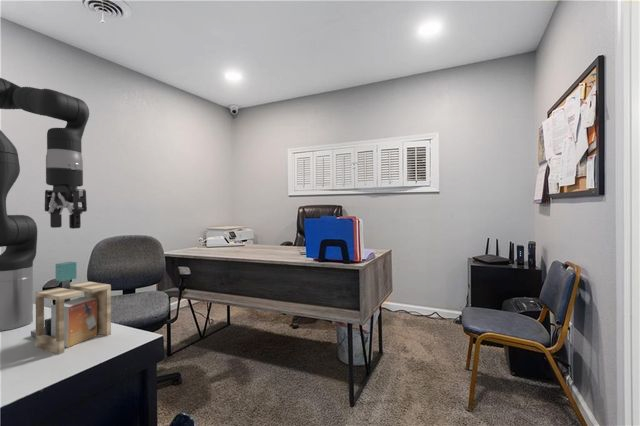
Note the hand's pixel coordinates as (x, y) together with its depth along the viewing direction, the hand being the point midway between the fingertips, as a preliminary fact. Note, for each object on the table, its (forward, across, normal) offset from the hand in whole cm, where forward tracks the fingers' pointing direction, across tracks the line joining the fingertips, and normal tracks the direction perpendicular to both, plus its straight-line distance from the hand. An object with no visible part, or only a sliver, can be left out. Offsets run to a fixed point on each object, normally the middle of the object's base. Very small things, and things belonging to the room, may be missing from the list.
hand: (65, 227), depth 78 cm
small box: (+30, +4, 0) cm, 31 cm away
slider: (+30, 0, 0) cm, 30 cm away
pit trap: (+30, -6, +2) cm, 31 cm away
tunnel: (+30, +4, 0) cm, 30 cm away
